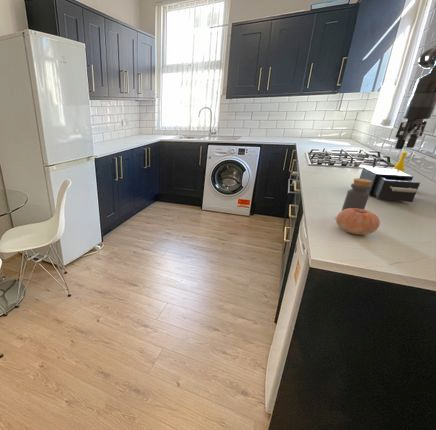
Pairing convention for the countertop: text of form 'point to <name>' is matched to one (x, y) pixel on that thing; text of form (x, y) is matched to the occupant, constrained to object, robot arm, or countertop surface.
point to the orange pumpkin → (357, 221)
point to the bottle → (357, 194)
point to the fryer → (375, 172)
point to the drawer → (395, 188)
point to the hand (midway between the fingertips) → (404, 148)
